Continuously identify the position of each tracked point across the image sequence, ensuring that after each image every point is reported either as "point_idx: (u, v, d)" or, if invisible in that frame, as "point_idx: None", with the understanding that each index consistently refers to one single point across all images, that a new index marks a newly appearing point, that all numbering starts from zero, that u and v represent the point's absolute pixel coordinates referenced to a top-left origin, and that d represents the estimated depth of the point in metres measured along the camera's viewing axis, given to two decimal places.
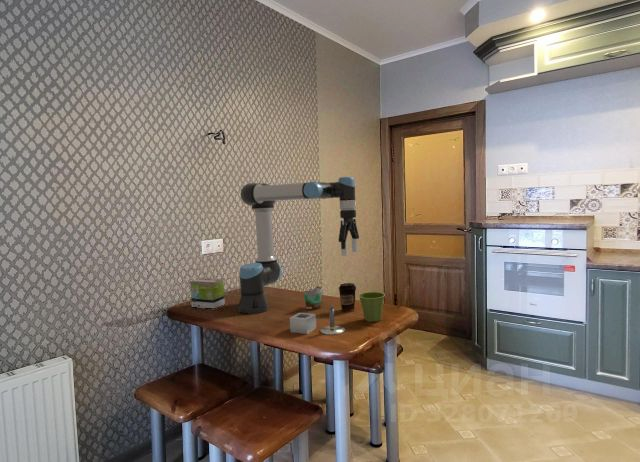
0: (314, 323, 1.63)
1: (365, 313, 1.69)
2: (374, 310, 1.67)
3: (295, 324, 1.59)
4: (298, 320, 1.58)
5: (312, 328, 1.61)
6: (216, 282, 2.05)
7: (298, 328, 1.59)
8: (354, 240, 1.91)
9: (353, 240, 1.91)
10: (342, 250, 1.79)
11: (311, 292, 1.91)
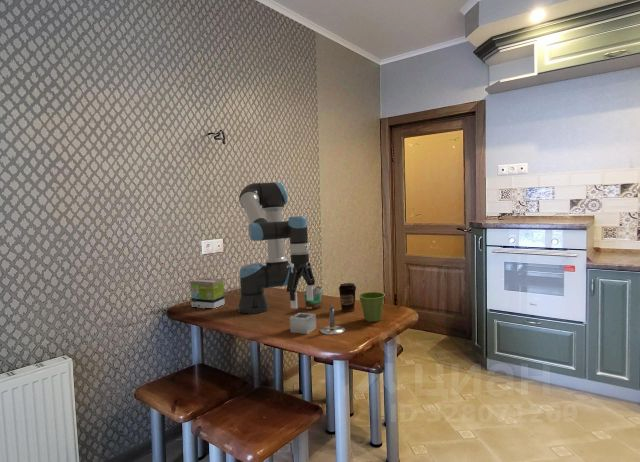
0: (314, 323, 1.63)
1: (365, 313, 1.69)
2: (374, 310, 1.67)
3: (295, 324, 1.59)
4: (298, 320, 1.58)
5: (312, 328, 1.61)
6: (216, 282, 2.05)
7: (298, 328, 1.59)
8: (309, 287, 1.67)
9: (308, 287, 1.67)
10: (291, 301, 1.55)
11: None
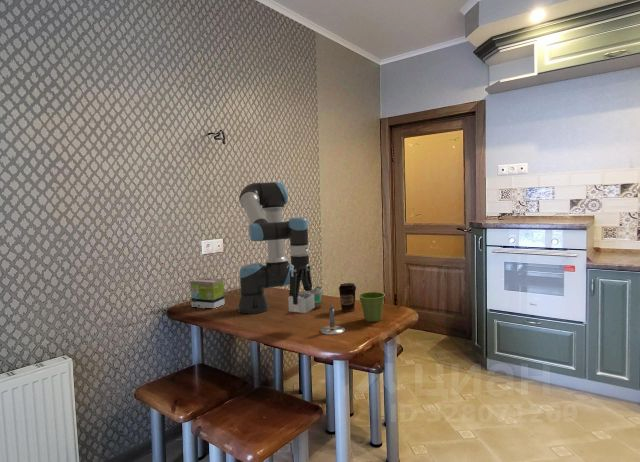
0: (312, 302, 1.62)
1: (365, 313, 1.69)
2: (374, 310, 1.67)
3: None
4: None
5: (310, 307, 1.61)
6: (216, 282, 2.05)
7: None
8: (306, 292, 1.65)
9: (305, 292, 1.65)
10: (294, 305, 1.58)
11: (311, 292, 1.91)
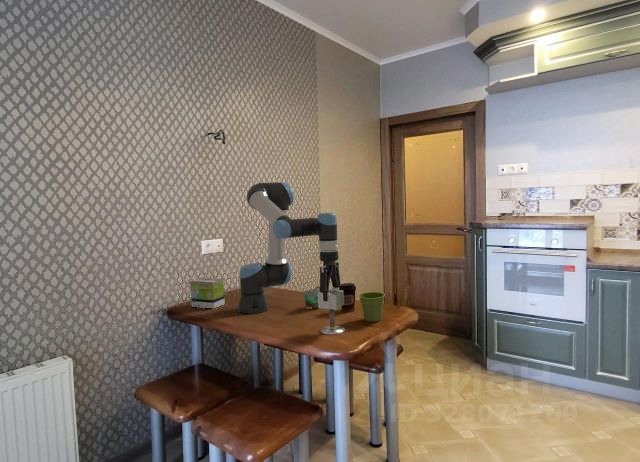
0: (342, 299, 1.59)
1: (365, 313, 1.69)
2: (374, 310, 1.67)
3: None
4: None
5: (340, 304, 1.58)
6: (216, 282, 2.05)
7: None
8: (335, 289, 1.62)
9: (334, 289, 1.62)
10: (324, 302, 1.55)
11: (311, 292, 1.91)
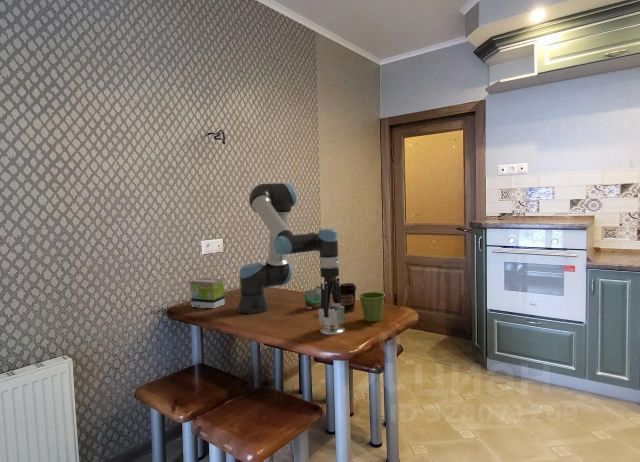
0: (343, 315, 1.60)
1: (365, 313, 1.69)
2: (374, 310, 1.67)
3: None
4: None
5: (341, 320, 1.58)
6: (216, 282, 2.05)
7: None
8: (336, 305, 1.62)
9: None
10: (325, 318, 1.55)
11: (311, 292, 1.91)
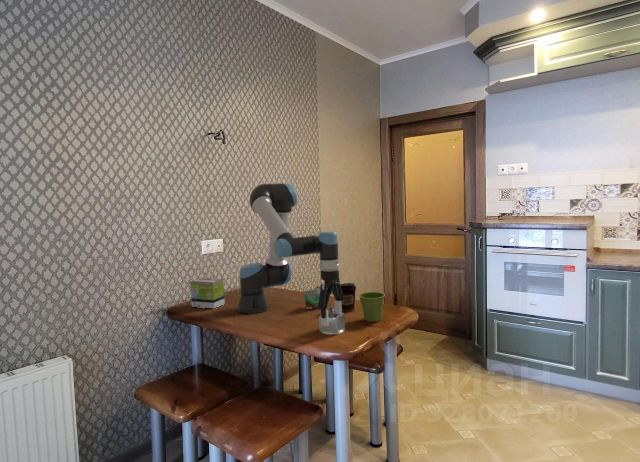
0: (343, 322, 1.60)
1: (365, 313, 1.69)
2: (374, 310, 1.67)
3: None
4: (328, 319, 1.56)
5: (341, 327, 1.58)
6: (216, 282, 2.05)
7: (328, 327, 1.56)
8: (338, 302, 1.65)
9: (337, 302, 1.65)
10: (322, 319, 1.53)
11: (311, 292, 1.91)
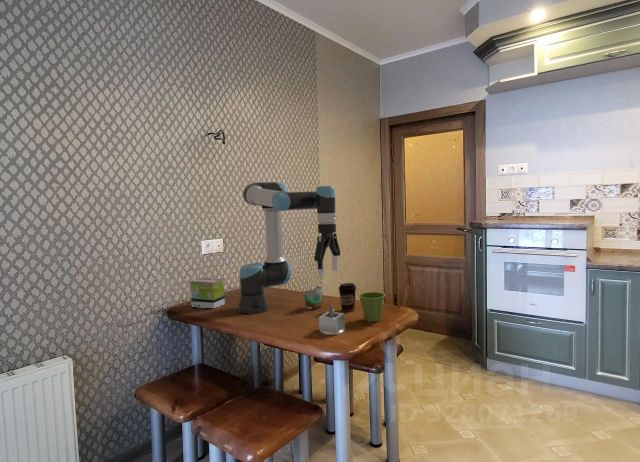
0: (343, 322, 1.60)
1: (365, 313, 1.69)
2: (374, 310, 1.67)
3: (324, 323, 1.56)
4: (328, 319, 1.56)
5: (341, 327, 1.58)
6: (216, 282, 2.05)
7: (328, 327, 1.56)
8: (335, 257, 1.68)
9: (333, 257, 1.68)
10: (319, 270, 1.56)
11: (311, 292, 1.91)
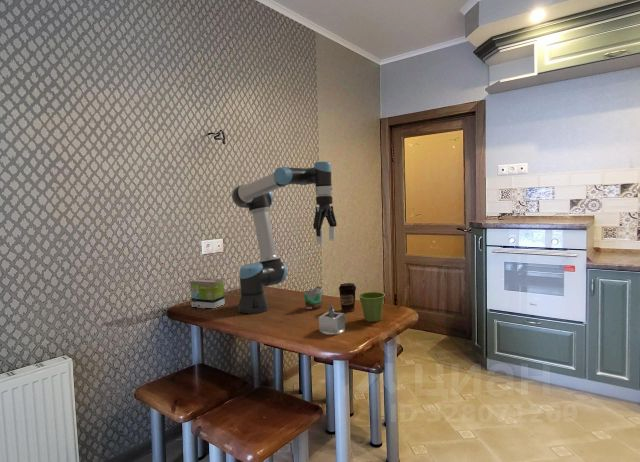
0: (343, 322, 1.60)
1: (365, 313, 1.69)
2: (374, 310, 1.67)
3: (324, 323, 1.56)
4: (328, 319, 1.56)
5: (341, 327, 1.58)
6: (216, 282, 2.05)
7: (328, 327, 1.56)
8: (331, 228, 1.84)
9: (330, 228, 1.84)
10: (317, 237, 1.72)
11: (311, 292, 1.91)
